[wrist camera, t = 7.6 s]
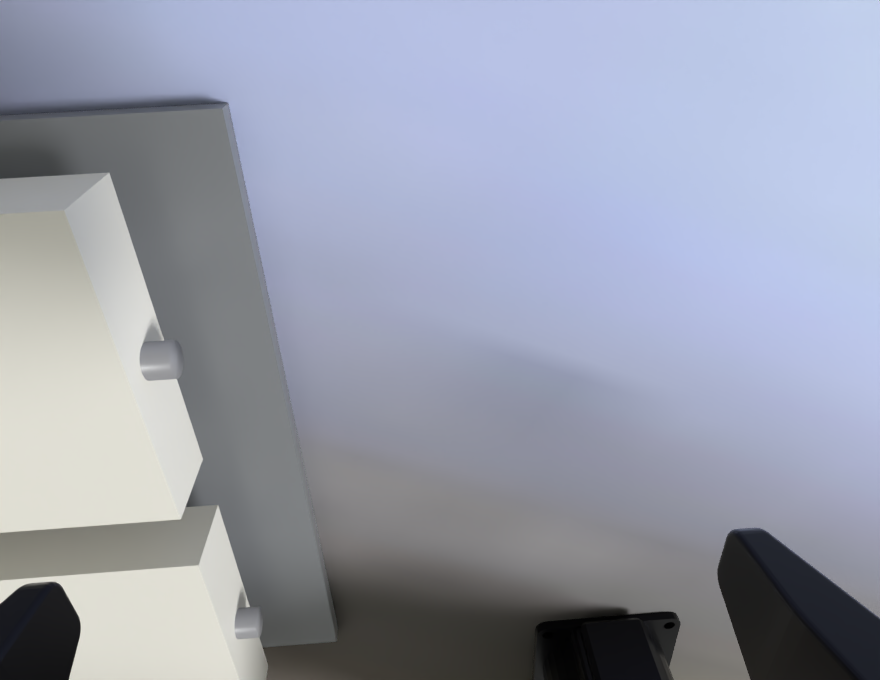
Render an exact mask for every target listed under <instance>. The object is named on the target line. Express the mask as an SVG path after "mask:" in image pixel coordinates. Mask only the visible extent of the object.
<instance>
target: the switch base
mask: <svg viewBox="0 0 880 680" xmlns="http://www.w3.org/2000/svg"><path fill="white" fill-rule="evenodd" d="M93 173H110V176H111V179H112V182H113V185H114V189H115V192H116V195H117V198H118V201H119V204H120V207H121V210H122V213H123V216H124V219H125V222H126V225H127V228H128V231H129V234H130V237H131V241H132V244H133V247H134V250H135V253H136V256H137V259H138V262H139V265H140V268H141V271H142V274H143V277H144V280H145V283H146V286H147V289H148V293H149V296H150V299H151V302H152V305H153V308H154V311H155V314H156V317H157V320H158V323H159V326H160V329H161V332H162V335H163V338H164V340H177V341H178V342H179V344H180V346H181V348H182V352H183V362H184V363H183V371H182V374H181V376H180V378H178V379H177V381H178V384H179V387H180V390H181V393H182V397H183V400H184V403H185V406H186V409H187V412H188V415H189V418H190V421H191V424H192V427H193V430H194V433H195V436H196V439H197V442H198V445H199V449H200V452H201V455H202V458H203V460H202V463H201V466H200V469H199V471H198V474H197V477H196V480H195V482H194V485H193V488H192V491H191V493H190V496H189V499H188V502H187V504H186V507H196V506H210V505H218V506H219V509H220V513H221V516H222V519H223V522H224V525H225V529H226V532H227V535H228V538H229V541H230V545H231V548H232V551H233V554H234V558H235V561H236V564H237V567H238V570H239V574H240V577H241V580H242V583H243V586H244V590H245V593H246V596H247V599H248V602H249V606H250V607H257V606H260V607H261V609H262V613H263V626H262V632H261V635H260V637H259V638H260V641H261V644H262V647H263V648H264V647H276V646H289V645H301V644H314V643H326V642H337V635H338V625H337V620H336V616H335V611H334V606H333V601H332V596H331V592H330V587H329V582H328V577H327V573H326V568H325V563H324V558H323V553H322V549H321V544H320V539H319V534H318V530H317V525H316V520H315V515H314V510H313V506H312V501H311V496H310V491H309V487H308V482H307V477H306V472H305V467H304V463H303V458H302V453H301V448H300V444H299V439H298V434H297V429H296V424H295V420H294V415H293V410H292V405H291V401H290V396H289V391H288V386H287V381H286V377H285V372H284V367H283V362H282V358H281V353H280V348H279V343H278V338H277V334H276V329H275V324H274V319H273V315H272V310H271V305H270V300H269V295H268V291H267V286H266V281H265V276H264V271H263V267H262V262H261V257H260V252H259V248H258V243H257V238H256V233H255V228H254V224H253V219H252V214H251V209H250V205H249V200H248V195H247V190H246V185H245V181H244V176H243V171H242V166H241V162H240V157H239V152H238V147H237V142H236V138H235V133H234V128H233V123H232V119H231V114H230V109H229V104H228V103H216V104H198V105H180V106H162V107H143V108H125V109H107V110H89V111H71V112H53V113H35V114H17V115H0V179H7V178H24V177H41V176H58V175H76V174H93Z"/></svg>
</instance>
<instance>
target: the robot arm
mask: <svg viewBox="0 0 880 680" xmlns="http://www.w3.org/2000/svg"><path fill="white" fill-rule="evenodd" d="M717 574H718V582H719V586H720V589H721V592H722V595H723V598H724V601H725V604H726V607H727V610H728V613H729V616H730V619H731V622H732V625H733V628H734V631H735V634H736V637H737V640H738V643H739V646H740V649H741V652H742V655H743V658H744V661H745V664H746V667H747V670H748V673H749V676H750V679H751V680H880V618H879V617H878V616H876V615H875V614H874V613H872V612H871V611H870V610H869V609H867V608H866V607H865V606H863V605H862V604H861V603H859V602H858V601H857V600H855V599H854V598H853V597H852V596H850V595H849V594H848V593H846V592H845V591H844V590H842V589H841V588H840V587H839V586H837V585H836V584H835V583H833V582H832V581H831V580H829V579H828V578H827V577H826V576H824V575H823V574H822V573H820V572H819V571H818V570H816V569H815V568H814V567H813V566H811V565H810V564H809V563H807V562H806V561H805V560H803V559H802V558H801V557H799V556H798V555H797V554H796V553H794V552H793V551H792V550H790V549H789V548H788V547H786V546H785V545H784V544H783V543H781V542H780V541H779V540H777V539H776V538H775V537H773V536H772V535H771V534H770V533H768V532H767V531H765V530H763V529H760V528H745V529H734V530H732V531H731V532H730V533H729V534H728V536H727V538H726V542H725V545H724V548H723V552H722V555H721V558H720V562H719V565H718V573H717ZM679 628H680V621H679V618H678V616H677V614H676V613H674V612H660V613H647V614H635V615H622V616H610V617H597V618H585V619H572V620H560V621H548V622H543V623H540V624H539V625H538V626H537V627H536V630H535V645H534V660H533V676H532V680H674V679H673V677H672V674H671V671H670V669H669V665H670V661H671V658H672V654H673V650H674V646H675V643H676V639H677V635H678V631H679ZM80 632H81V623H80V619H79V616H78V614H77V612H76V610H75V609H74V607H73V605H72V603H71V602H70V600H69V598H68V596H67V594H66V593H65V591H64V589H63V587H62V586H61V585H60V584H59V583H57V582H52V581H51V582H38V583H29V584H25V585H23V586H21V587H19V588H18V589H17V590H15V591H14V592H13V593H12V594H11V595H10V596H8V597H7V598H6V599H5V600H4V601H3V602H2V603H0V680H69V677H70V673H71V669H72V666H73V662H74V658H75V654H76V650H77V646H78V642H79V638H80Z"/></svg>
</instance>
